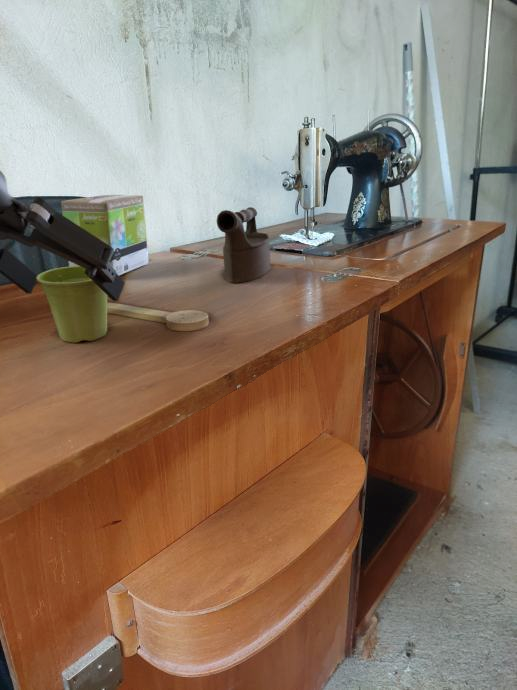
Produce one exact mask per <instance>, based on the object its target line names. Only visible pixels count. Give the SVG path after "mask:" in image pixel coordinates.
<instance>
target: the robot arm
mask: <svg viewBox="0 0 517 690" xmlns="http://www.w3.org/2000/svg"><path fill="white" fill-rule="evenodd" d="M29 227H30V228H32V231H31V232H30V235H29V236H28V235H26V234H27V232H28V230H29ZM5 240H11V241H15V242H17V243H20V244H22V245H23V246H26V247H28V248H32V247H38V248H39V249H43V250H45V251H47V252H49V253H51V254H53V255H55V256H57V257H59V258H62V259H64V260H66V261H68V262H69V261H70V262H72V263H74V264H77V265H79V266H81V267H83V268H85V269H86V270H85V274H86V275H87V276H88V277H89V278H90V279H91V280H92V281H93V282H94V283H95V284H96V285H97V286H99V287H100V288H101V289H102V290H103V291H104V292H105V293H106V294H107V297H109V298H110V300H112V301H113V302H119V300H120V297H121V294H122V291H123V289H124V287H125V283H126V282H125V281H124V280H123V279H122V277H120V275H119V276H118V274H117V273H116V270H115V269H114V268H113V267H112V266H111V265H110V264H109V262H110V260H111V257H112V255H113V252H114V249H113V248H112V247H111V246H109V245H108V244H106V243H105V242H103V241H101V240H100V239H98V238H97V237H95V236H94V235H92V234H91V233H89V232H88V231H86V230H84V229H83V228H81V227H80V226H78V225H77V224H75V223H74V222H72V221H70V220H69V219H67V218H66V217H64V216H63V214H61V213H59V212H58V211H57V210H56V209H54V208H53V207H52V206H51V205H50V204H49V203H48V202H47V201H46V200H45V199H43V198H41V197H39V196H38V197H37V196H36V197H34V199H33V201H32V203H31V204H24V203H23V202H21V201H19V200H17V199H16V198H15V197H14V196H12V195H11V194H10V190H9V186H8V183H7V179H6V176H5V174H4V173H3V172H2V171H1V170H0V241H5ZM1 244H2V243H1V242H0V245H1ZM0 274H1V275H2V276H3V277H5V278H6V279H7V280H9V282H11V283H12V284H13V285H15V286H16V287H18V289H20V290H22V291H23V292H24V293H25V294H32V292H33V290H34V288H35V285H36V283H37V282H38V281H37V279H36V277H37V275H38V274H36V273H35V272H34V270H32V269H31V268H30V267H28V266H27V265H26V264H25V263H24V262H22V261H21V260H20V259H19V258H17V256H16V255H14V254H13V253H12V252H10V251H9V250H8V249H7V248H1V247H0Z"/></svg>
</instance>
